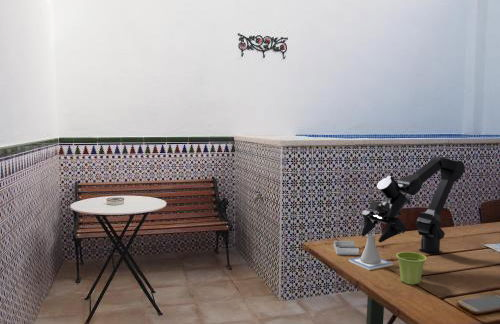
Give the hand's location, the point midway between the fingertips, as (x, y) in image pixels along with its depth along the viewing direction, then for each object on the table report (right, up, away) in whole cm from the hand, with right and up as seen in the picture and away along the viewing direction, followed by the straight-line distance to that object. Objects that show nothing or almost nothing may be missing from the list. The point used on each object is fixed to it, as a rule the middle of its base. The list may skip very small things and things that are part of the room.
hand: (370, 238), depth 172 cm
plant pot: (+9, -12, -17) cm, 23 cm away
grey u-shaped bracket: (-5, -8, +17) cm, 19 cm away
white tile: (0, -9, +1) cm, 9 cm away
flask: (0, -9, +1) cm, 9 cm away
